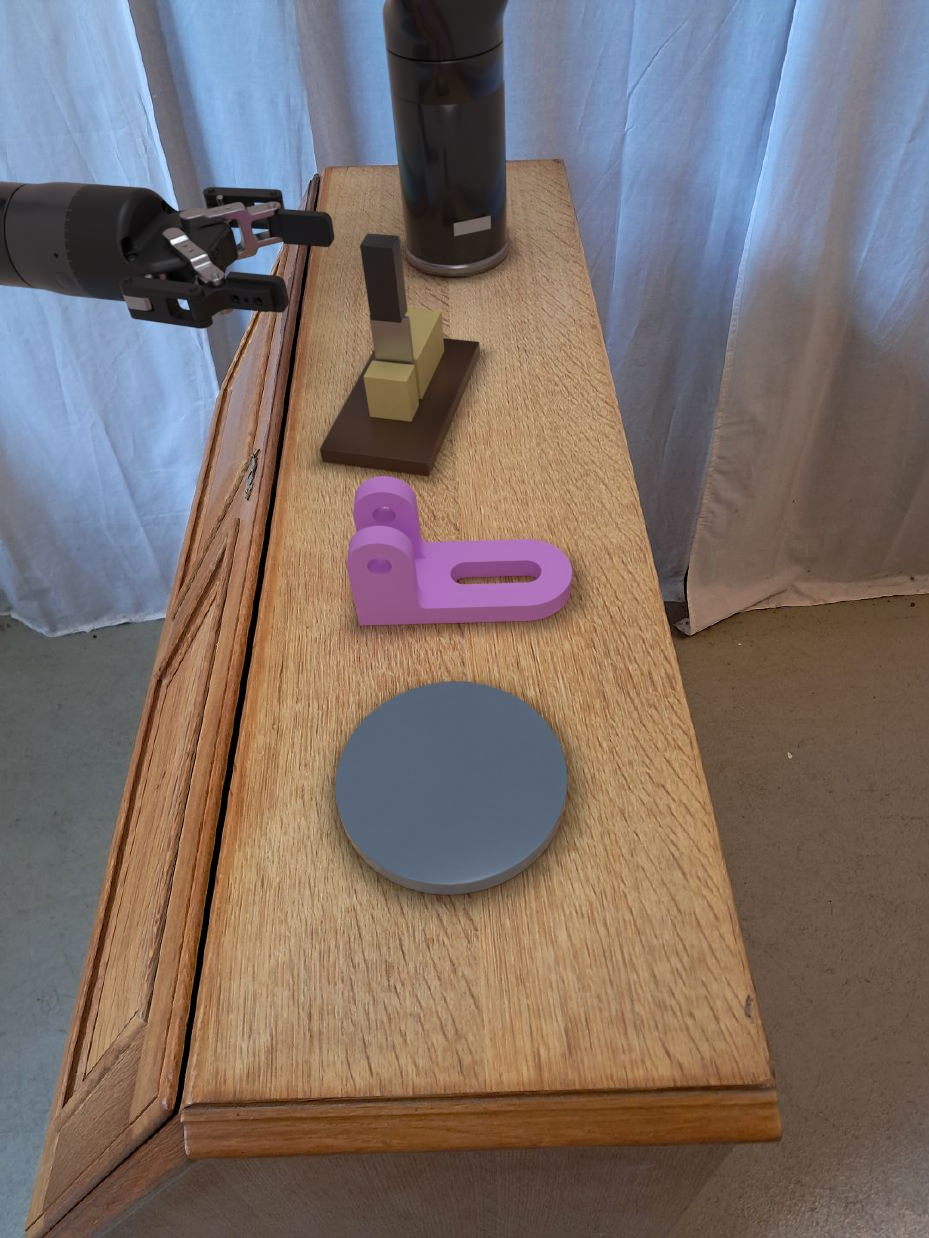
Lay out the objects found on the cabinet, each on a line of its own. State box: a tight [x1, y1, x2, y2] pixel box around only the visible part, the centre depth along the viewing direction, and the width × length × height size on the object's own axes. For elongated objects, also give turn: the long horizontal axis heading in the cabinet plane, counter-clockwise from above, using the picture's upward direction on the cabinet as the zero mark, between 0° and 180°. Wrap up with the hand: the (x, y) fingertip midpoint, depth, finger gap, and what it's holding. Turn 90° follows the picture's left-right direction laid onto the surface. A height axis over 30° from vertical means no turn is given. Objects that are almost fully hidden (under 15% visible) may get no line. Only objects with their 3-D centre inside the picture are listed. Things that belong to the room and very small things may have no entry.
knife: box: [359, 232, 419, 401], centre depth 63 cm, size 2×3×12 cm, turn 75°
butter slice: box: [364, 361, 419, 422], centre depth 66 cm, size 2×3×4 cm, turn 75°
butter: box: [405, 307, 444, 399], centre depth 69 cm, size 6×3×4 cm, turn 165°
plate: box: [334, 681, 569, 896], centre depth 48 cm, size 12×12×1 cm
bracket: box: [346, 475, 573, 626], centre depth 55 cm, size 13×6×7 cm, turn 89°
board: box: [319, 337, 481, 477], centre depth 69 cm, size 15×8×1 cm, turn 165°
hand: (309, 261), depth 61 cm, fingers open, 8 cm apart
